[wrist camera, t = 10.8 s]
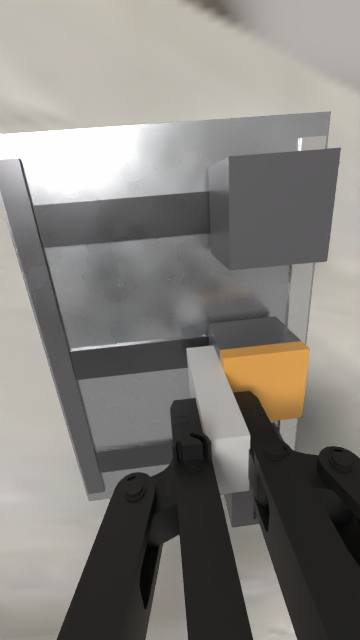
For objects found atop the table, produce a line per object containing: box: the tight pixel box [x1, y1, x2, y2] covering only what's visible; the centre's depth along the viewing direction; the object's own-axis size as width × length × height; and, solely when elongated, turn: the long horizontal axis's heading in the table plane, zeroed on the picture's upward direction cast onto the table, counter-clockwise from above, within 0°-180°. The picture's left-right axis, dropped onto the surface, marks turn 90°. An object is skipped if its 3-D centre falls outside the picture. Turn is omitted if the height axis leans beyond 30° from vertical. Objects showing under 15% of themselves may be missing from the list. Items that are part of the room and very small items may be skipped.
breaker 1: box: [208, 148, 341, 271], centre depth 13 cm, size 4×4×4 cm
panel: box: [0, 111, 331, 501], centre depth 19 cm, size 16×24×2 cm, turn 4°
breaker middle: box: [208, 316, 310, 421], centre depth 16 cm, size 4×4×4 cm
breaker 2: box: [224, 423, 284, 527], centre depth 19 cm, size 4×4×4 cm
